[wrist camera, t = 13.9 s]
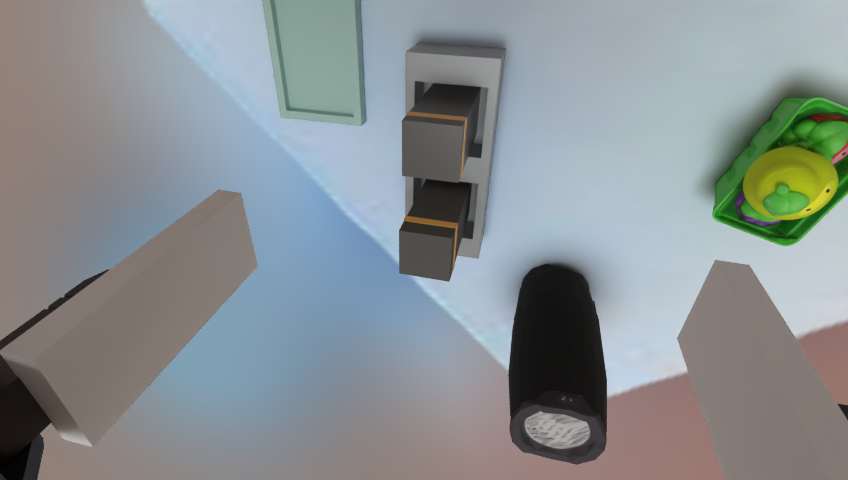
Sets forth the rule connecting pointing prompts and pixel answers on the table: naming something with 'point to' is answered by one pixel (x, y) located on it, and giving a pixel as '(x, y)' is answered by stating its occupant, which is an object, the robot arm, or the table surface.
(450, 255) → the plug
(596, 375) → the portable speaker
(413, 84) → the socket strip
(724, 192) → the fruit basket
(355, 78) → the tray
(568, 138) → the table surface
